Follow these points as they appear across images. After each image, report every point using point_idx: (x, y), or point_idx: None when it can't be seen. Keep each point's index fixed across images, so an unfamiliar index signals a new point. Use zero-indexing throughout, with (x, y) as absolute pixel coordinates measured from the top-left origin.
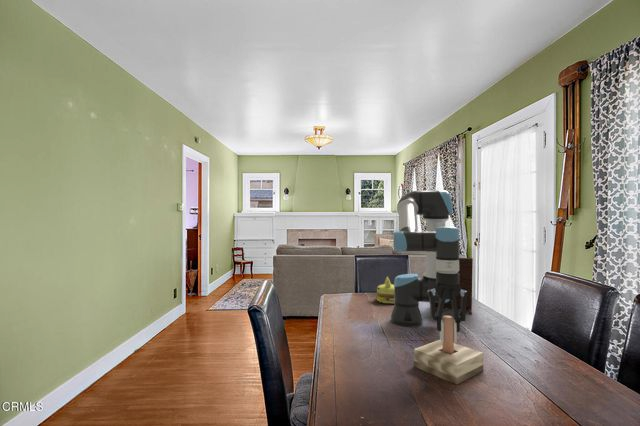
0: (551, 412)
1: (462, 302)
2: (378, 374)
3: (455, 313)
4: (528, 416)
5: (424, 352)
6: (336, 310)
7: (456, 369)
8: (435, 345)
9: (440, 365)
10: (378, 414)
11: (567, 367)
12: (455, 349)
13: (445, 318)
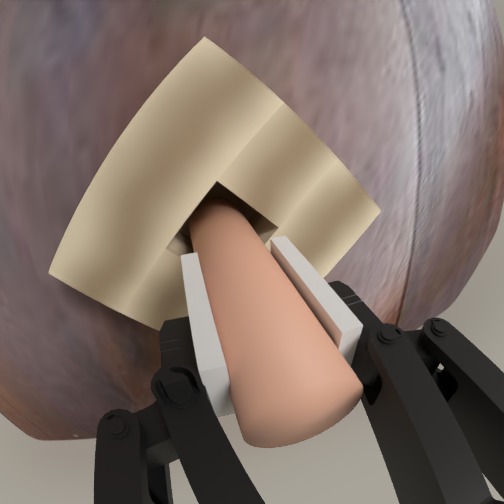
0: None
1: (493, 478)
2: (8, 323)
3: (386, 444)
4: None
5: (102, 299)
6: None
7: None
8: (151, 172)
9: None
10: (91, 430)
11: (493, 135)
12: (268, 204)
13: (267, 445)
